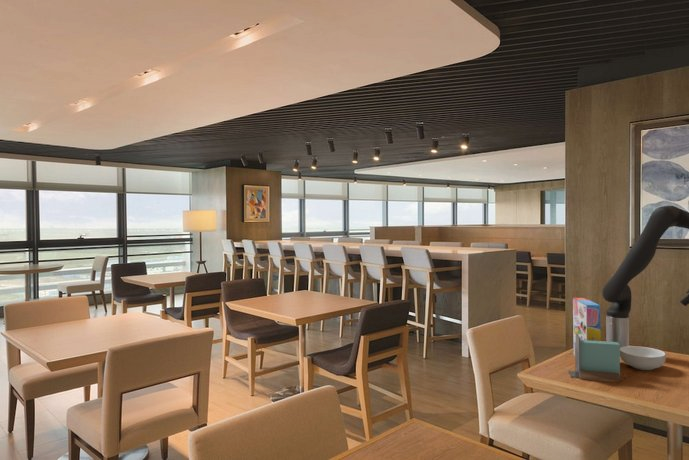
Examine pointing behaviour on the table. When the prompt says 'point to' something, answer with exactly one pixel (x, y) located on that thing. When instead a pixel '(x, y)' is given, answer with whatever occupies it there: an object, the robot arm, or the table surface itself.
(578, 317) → the game box
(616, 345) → the book box
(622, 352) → the cereal bowl
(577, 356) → the bookend
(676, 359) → the table surface
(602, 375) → the shelf slot
